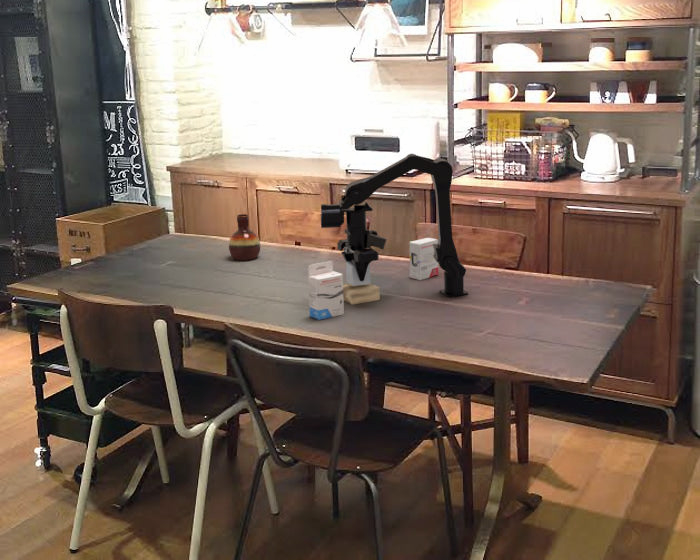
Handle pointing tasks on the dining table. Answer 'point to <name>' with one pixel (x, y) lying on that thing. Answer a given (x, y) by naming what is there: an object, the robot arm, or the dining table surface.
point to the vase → (244, 241)
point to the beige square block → (360, 293)
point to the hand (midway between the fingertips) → (358, 278)
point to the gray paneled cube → (356, 275)
